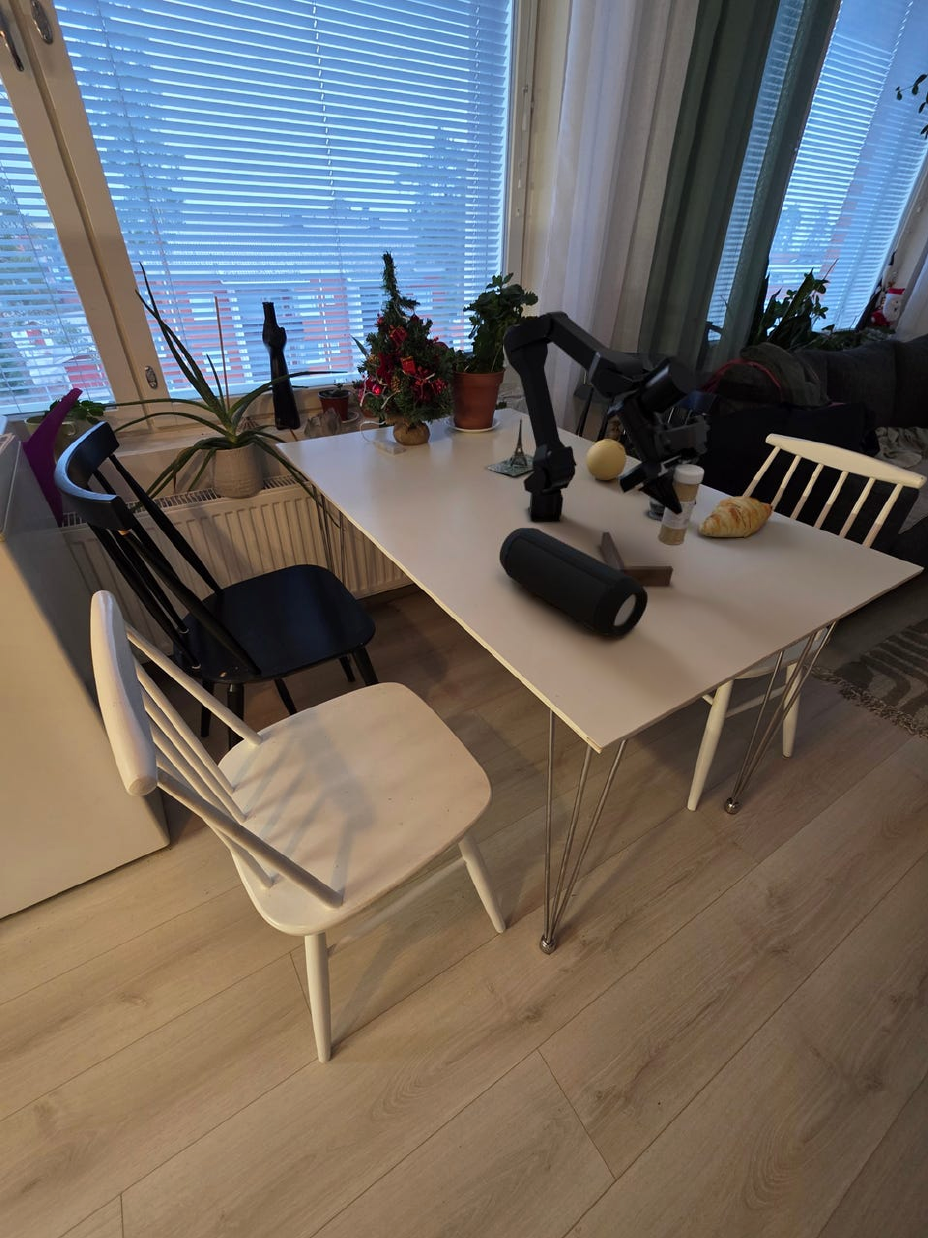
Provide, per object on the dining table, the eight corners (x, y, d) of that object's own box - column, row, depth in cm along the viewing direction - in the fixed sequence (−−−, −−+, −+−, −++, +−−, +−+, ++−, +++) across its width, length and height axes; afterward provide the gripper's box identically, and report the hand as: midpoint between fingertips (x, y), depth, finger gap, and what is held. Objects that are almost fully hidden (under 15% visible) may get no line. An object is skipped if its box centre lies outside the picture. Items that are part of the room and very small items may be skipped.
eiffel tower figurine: (514, 478, 136) (517, 425, 128) (486, 468, 142) (487, 417, 134) (551, 464, 144) (556, 414, 136) (523, 455, 150) (526, 406, 142)
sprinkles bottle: (670, 532, 97) (690, 461, 89) (689, 543, 94) (711, 470, 86) (651, 537, 95) (669, 465, 87) (669, 549, 92) (690, 475, 84)
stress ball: (623, 487, 131) (631, 447, 125) (583, 484, 133) (589, 445, 127) (621, 472, 139) (628, 434, 133) (583, 470, 141) (588, 432, 135)
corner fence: (616, 586, 95) (620, 569, 92) (600, 547, 106) (602, 531, 104) (668, 586, 94) (673, 569, 92) (646, 547, 106) (650, 531, 104)
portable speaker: (644, 628, 84) (657, 574, 78) (603, 652, 80) (614, 597, 74) (533, 564, 101) (537, 516, 95) (494, 581, 96) (496, 532, 90)
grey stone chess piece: (674, 522, 115) (688, 468, 108) (646, 519, 116) (658, 466, 109) (671, 510, 120) (684, 459, 113) (644, 508, 121) (655, 457, 114)
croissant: (705, 558, 109) (730, 535, 102) (677, 521, 112) (700, 496, 106) (771, 533, 117) (799, 510, 110) (743, 499, 121) (768, 475, 114)
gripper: (651, 411, 78) (700, 504, 78) (712, 390, 88) (755, 473, 88) (598, 450, 87) (642, 533, 87) (659, 427, 97) (698, 502, 97)
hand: (686, 509), depth 90 cm, fingers closed on sprinkles bottle, 4 cm apart
